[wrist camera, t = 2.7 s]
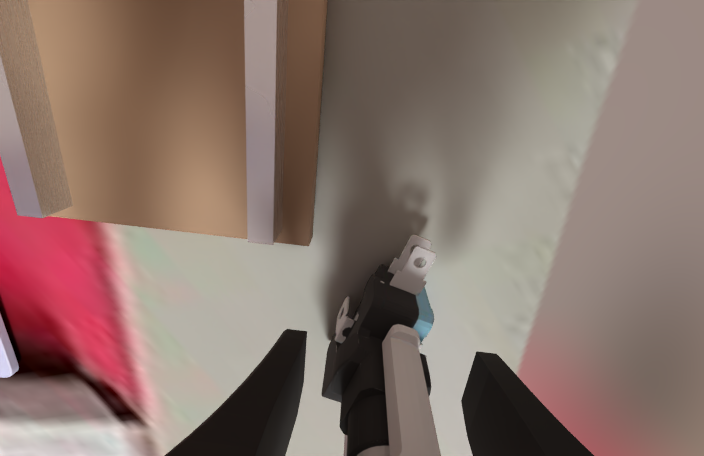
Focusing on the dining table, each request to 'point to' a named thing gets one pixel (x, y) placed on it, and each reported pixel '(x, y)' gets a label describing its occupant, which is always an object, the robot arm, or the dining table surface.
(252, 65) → the white guide rails
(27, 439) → the dining table surface
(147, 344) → the dining table surface
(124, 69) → the mounting board
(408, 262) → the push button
